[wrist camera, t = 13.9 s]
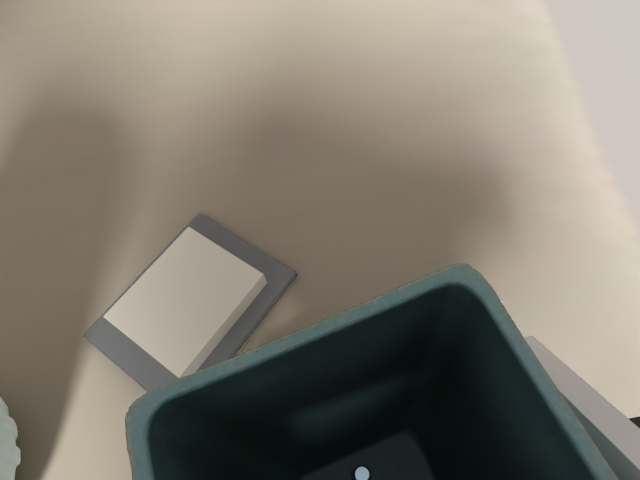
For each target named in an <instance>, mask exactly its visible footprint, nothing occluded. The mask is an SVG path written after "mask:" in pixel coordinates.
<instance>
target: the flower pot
mask: <svg viewBox="0 0 640 480" xmlns="http://www.w3.org/2000/svg"><path fill="white" fill-rule="evenodd" d="M125 426H126V440H127V450H128V454H129V458H130V464H131V469H132V480H357V479H356V477H355V472H356V470H357V469H358V468H359V467H365V468H366V469H367V470H368V472H369V478H368V480H619V479H618V478H617V476H616V475H615V473H614V472H613V470H612V469H611V467H610V466H609V464H608V463H607V461H606V460H605V459H604V457H603V456H602V454H601V452H600V451H599V449H598V447H597V446H596V445H595V443H594V442H593V440H592V439H591V437H590V436H589V434H588V433H587V431H586V430H585V428H584V427H583V425H582V424H581V422H580V421H579V419H578V418H577V417H576V415H575V414H574V412H573V411H572V409H571V407H570V406H569V404H568V403H567V402H566V401H565V399H564V397H563V396H562V394H561V393H560V391H559V390H558V388H557V387H556V385H555V384H554V382H553V381H552V379H551V378H550V376H549V375H548V373H547V372H546V371H545V369H544V368H543V366H542V364H541V363H540V362H539V360H538V359H537V357H536V355H535V354H534V352H533V350H532V349H531V348H530V346H529V345H528V343H527V342H526V340H525V339H524V337H523V336H522V334H521V332H520V331H519V329H518V328H517V326H516V325H515V323H514V322H513V320H512V318H511V317H510V315H509V314H508V312H507V311H506V309H505V307H504V306H503V305H502V303H501V302H500V300H499V298H498V296H497V294H496V292H495V291H494V289H493V288H492V287H491V285H490V284H489V283H488V282H487V281H486V279H485V278H484V277H483V276H482V275H481V274H480V273H479V272H478V271H476V270H475V269H473V268H472V267H471V266H469V265H467V264H455V265H451V266H448V267H446V268H444V269H441V270H438V271H436V272H434V273H431V274H428V275H426V276H424V277H422V278H420V279H418V280H416V281H413V282H411V283H408V284H406V285H404V286H401V287H399V288H396V289H395V290H392V291H390V292H388V293H385V294H383V295H380V296H378V297H375V298H373V299H372V300H370V301H367V302H365V303H362V304H360V305H358V306H355V307H352V308H350V309H348V310H345V311H344V312H342V313H340V314H337V315H334V316H332V317H330V318H326V319H324V320H322V321H320V322H319V323H314V324H312V325H309V326H307V327H305V328H303V329H301V330H299V331H297V332H294V333H292V334H289V335H287V336H285V337H282V338H280V339H277V340H275V341H272V342H270V343H268V344H266V345H263V346H260V347H257V348H256V349H254V350H250V351H248V352H246V353H242V354H240V355H238V356H236V357H233V358H230V359H228V360H225V361H223V362H221V363H219V364H216V365H213V366H211V367H208V368H206V369H203V370H200V371H198V372H196V373H193V374H191V375H188V376H184V377H181V378H179V379H176V380H174V381H171V382H169V383H166V384H164V385H161V386H158V387H156V388H154V389H153V390H151V391H149V392H148V393H146V394H145V395H143V396H141V397H140V398H138V399H137V400H136V401H135V402H134V403H133V404H132V405H131V406H130V407H129V410H128V412H127V414H126V418H125Z"/></svg>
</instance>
